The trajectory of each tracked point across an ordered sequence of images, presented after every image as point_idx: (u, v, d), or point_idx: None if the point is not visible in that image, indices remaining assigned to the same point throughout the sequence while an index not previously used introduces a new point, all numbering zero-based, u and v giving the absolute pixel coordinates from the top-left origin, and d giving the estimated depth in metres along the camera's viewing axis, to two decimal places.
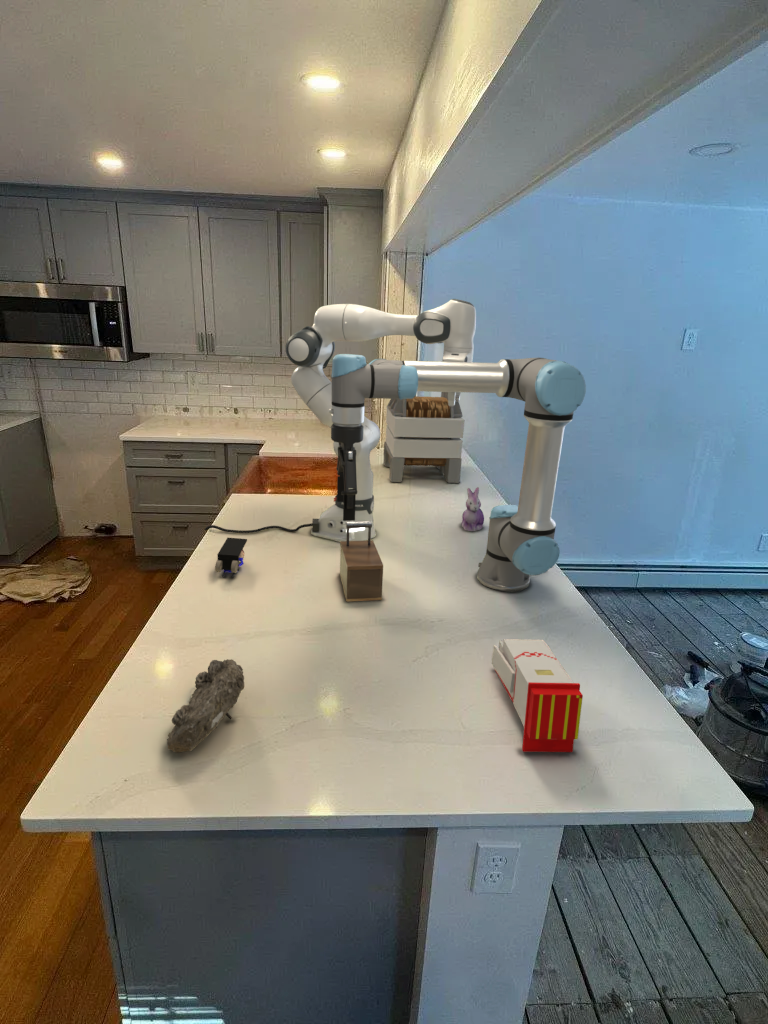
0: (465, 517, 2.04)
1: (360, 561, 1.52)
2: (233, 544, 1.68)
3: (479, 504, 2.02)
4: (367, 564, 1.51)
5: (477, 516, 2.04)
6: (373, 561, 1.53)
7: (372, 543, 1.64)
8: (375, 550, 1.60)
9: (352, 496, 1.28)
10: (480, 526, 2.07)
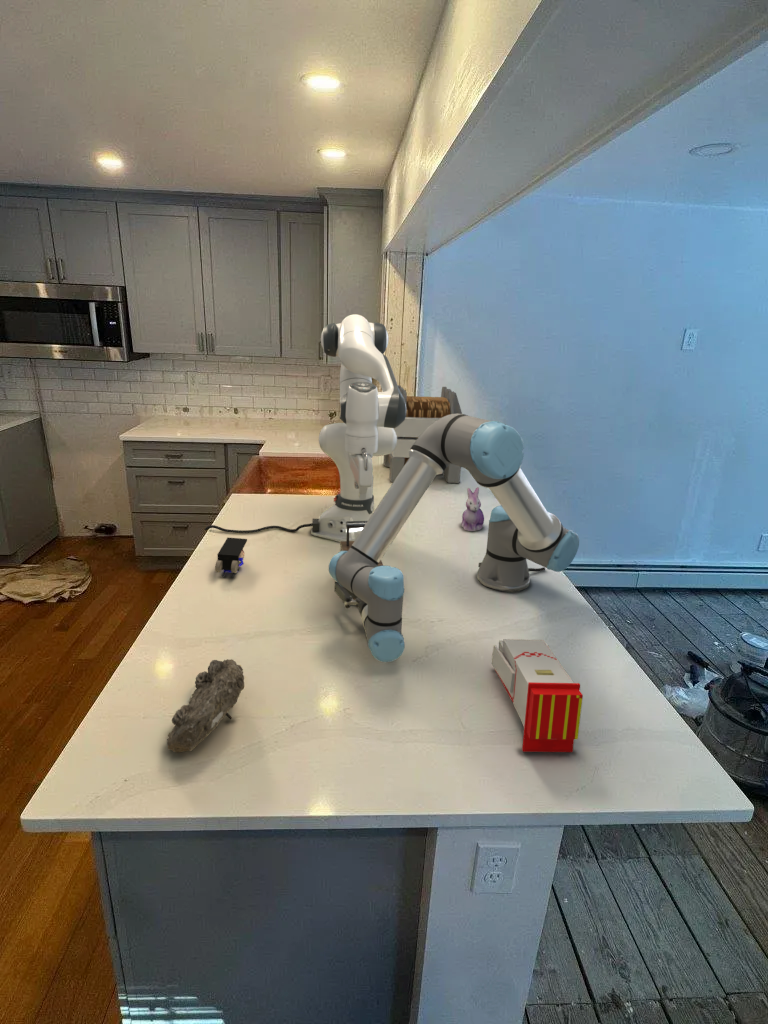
0: (465, 517, 2.04)
1: None
2: (233, 544, 1.68)
3: (479, 504, 2.02)
4: None
5: (477, 516, 2.04)
6: None
7: None
8: None
9: None
10: (480, 526, 2.07)
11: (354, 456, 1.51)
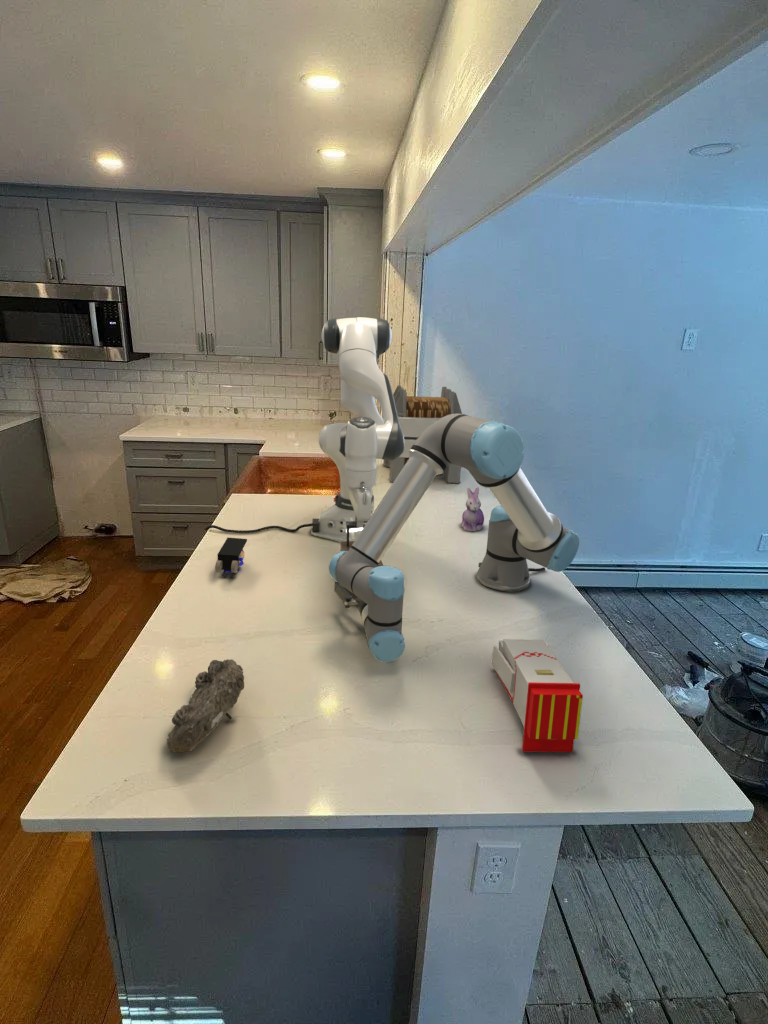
0: (465, 517, 2.04)
1: None
2: (233, 544, 1.68)
3: (479, 504, 2.02)
4: None
5: (477, 516, 2.04)
6: None
7: None
8: None
9: None
10: (480, 526, 2.07)
11: (353, 489, 1.54)
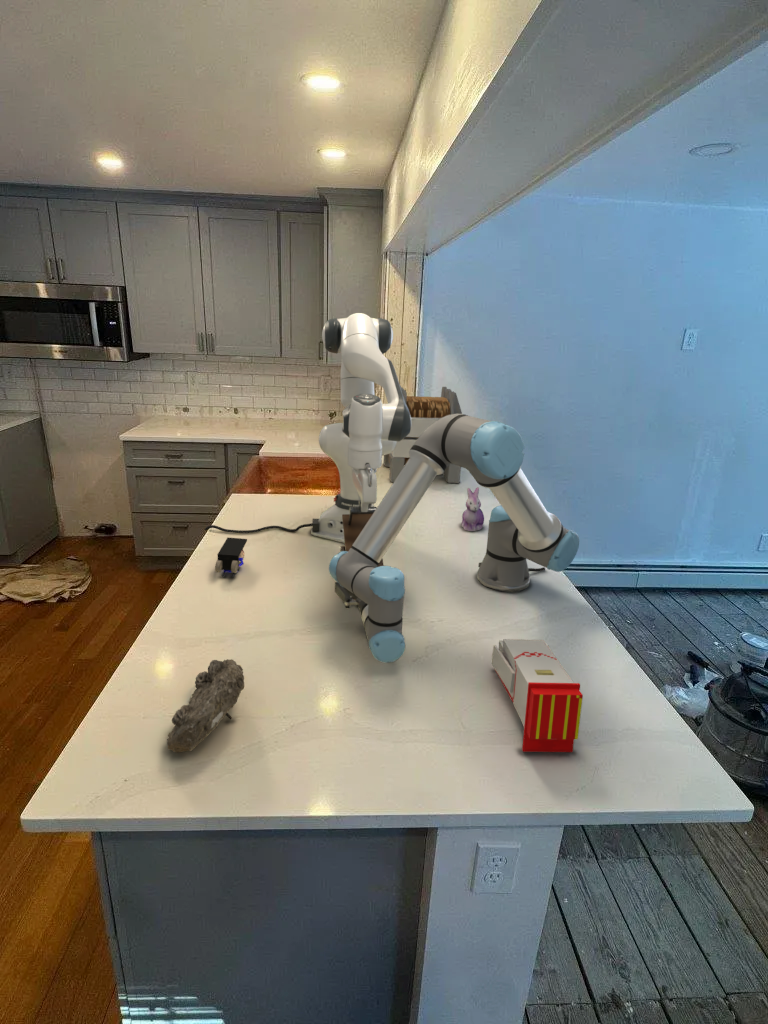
0: (465, 517, 2.04)
1: None
2: (233, 544, 1.68)
3: (479, 504, 2.02)
4: None
5: (477, 516, 2.04)
6: None
7: None
8: None
9: None
10: (480, 526, 2.07)
11: (357, 471, 1.45)
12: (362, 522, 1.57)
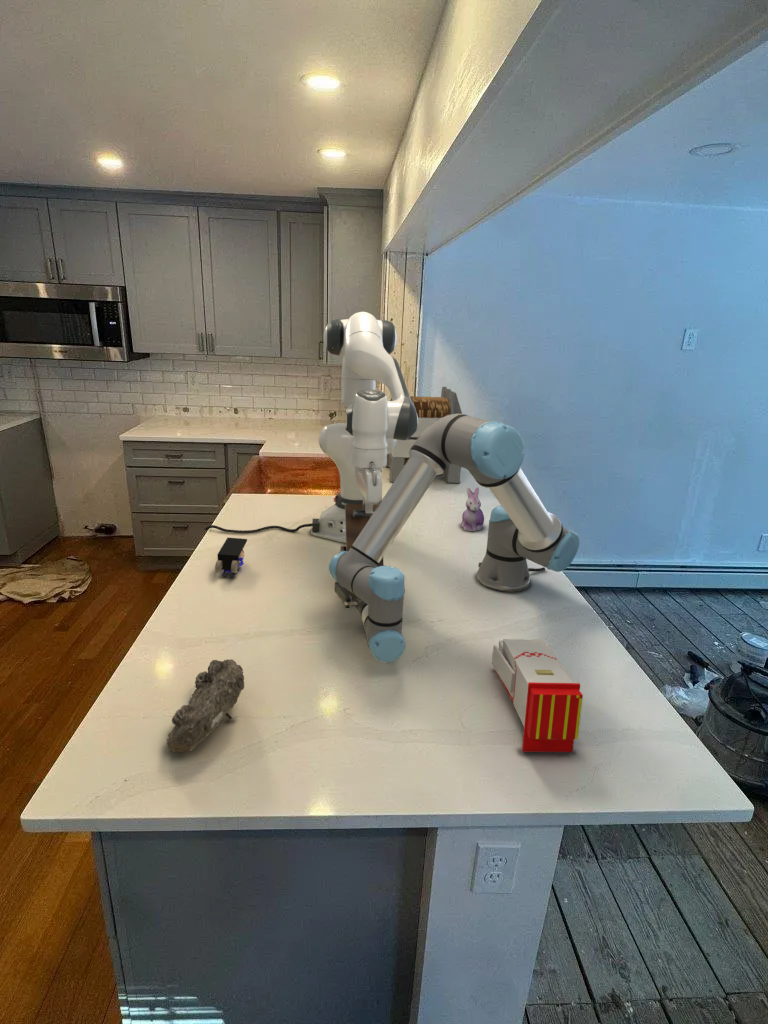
0: (465, 517, 2.04)
1: None
2: (233, 544, 1.68)
3: (479, 504, 2.02)
4: None
5: (477, 516, 2.04)
6: None
7: None
8: None
9: None
10: (480, 526, 2.07)
11: (361, 470, 1.38)
12: None
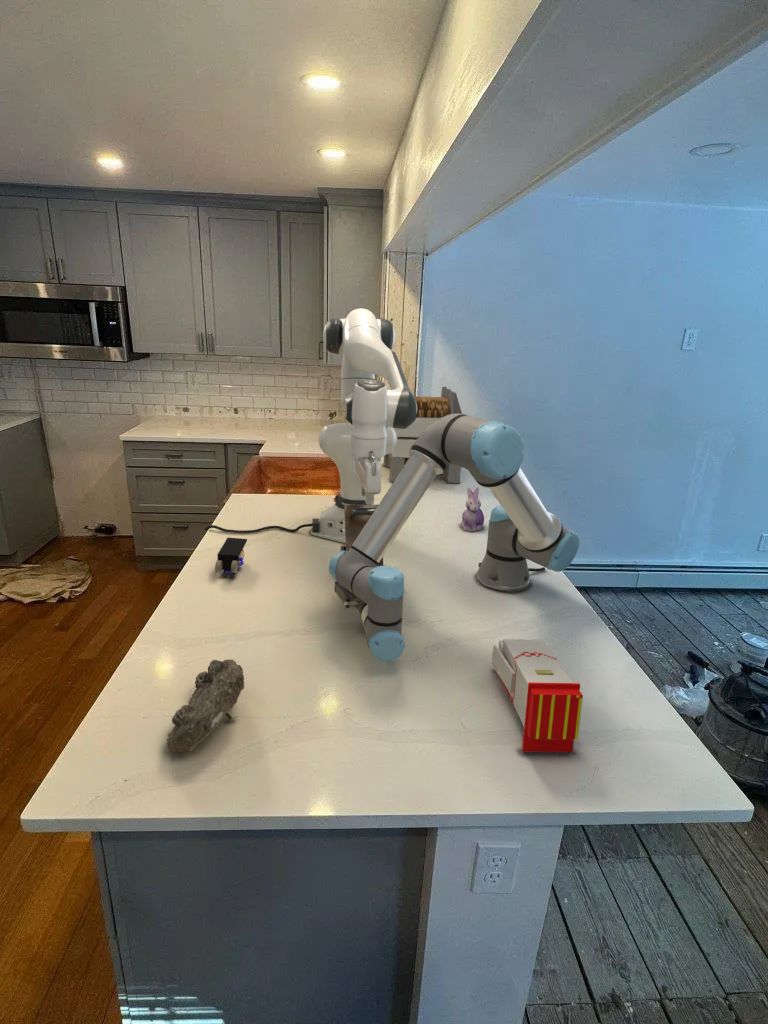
0: (465, 517, 2.04)
1: None
2: (233, 544, 1.68)
3: (479, 504, 2.02)
4: None
5: (477, 516, 2.04)
6: None
7: None
8: None
9: None
10: (480, 526, 2.07)
11: (361, 460, 1.39)
12: (364, 515, 1.53)
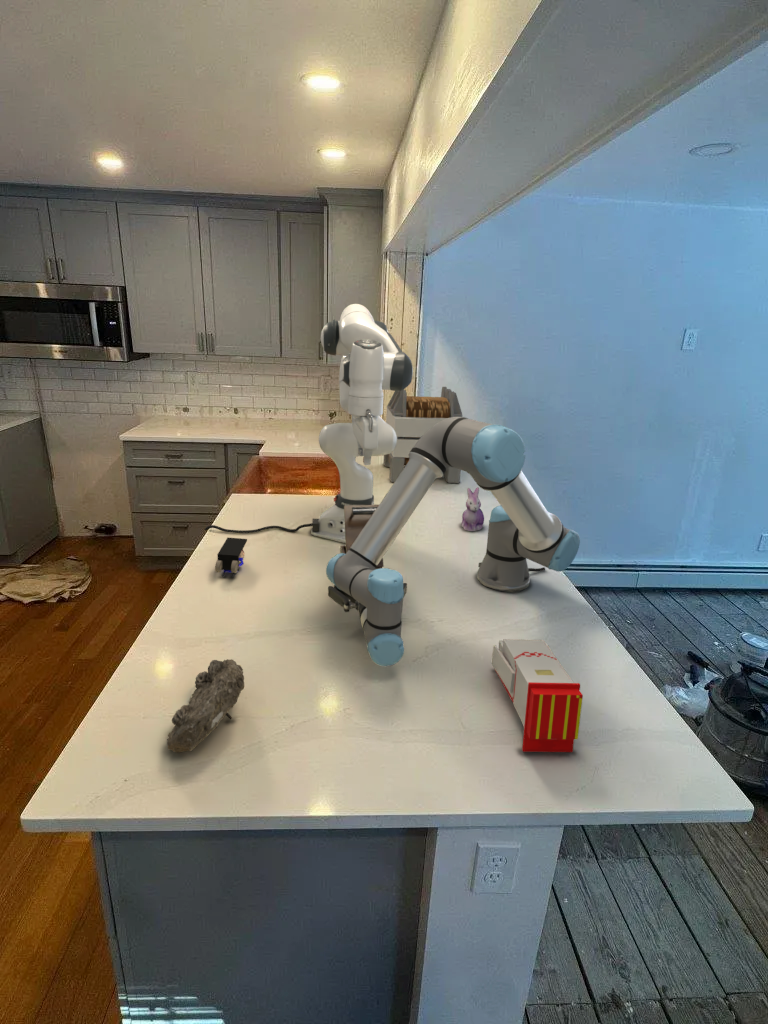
0: (465, 517, 2.04)
1: None
2: (233, 544, 1.68)
3: (479, 504, 2.02)
4: None
5: (477, 516, 2.04)
6: None
7: None
8: None
9: None
10: (480, 526, 2.07)
11: (358, 419, 1.42)
12: (364, 515, 1.53)
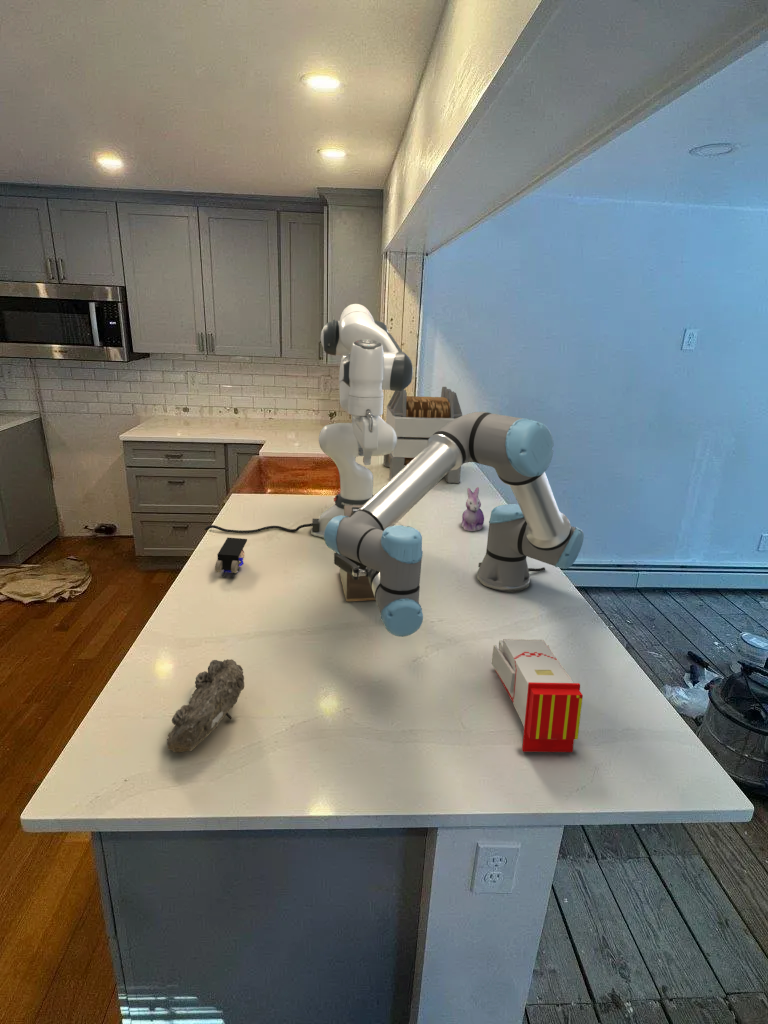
0: (465, 517, 2.04)
1: None
2: (233, 544, 1.68)
3: (479, 504, 2.02)
4: None
5: (477, 516, 2.04)
6: None
7: None
8: None
9: None
10: (480, 526, 2.07)
11: (358, 419, 1.42)
12: None
